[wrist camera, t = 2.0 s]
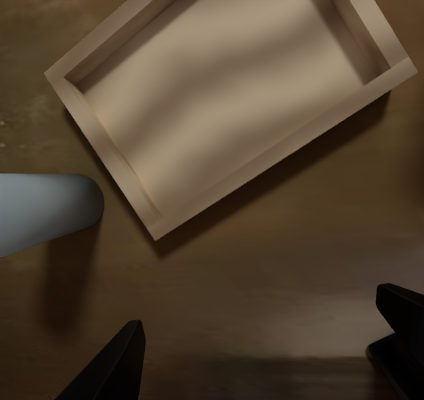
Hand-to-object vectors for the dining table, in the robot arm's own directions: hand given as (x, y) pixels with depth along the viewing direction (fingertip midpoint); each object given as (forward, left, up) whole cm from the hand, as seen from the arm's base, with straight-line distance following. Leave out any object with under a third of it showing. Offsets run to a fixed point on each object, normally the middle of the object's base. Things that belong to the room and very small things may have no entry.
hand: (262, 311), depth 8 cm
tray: (+12, -5, -12) cm, 17 cm away
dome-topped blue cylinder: (+11, +12, -12) cm, 20 cm away
